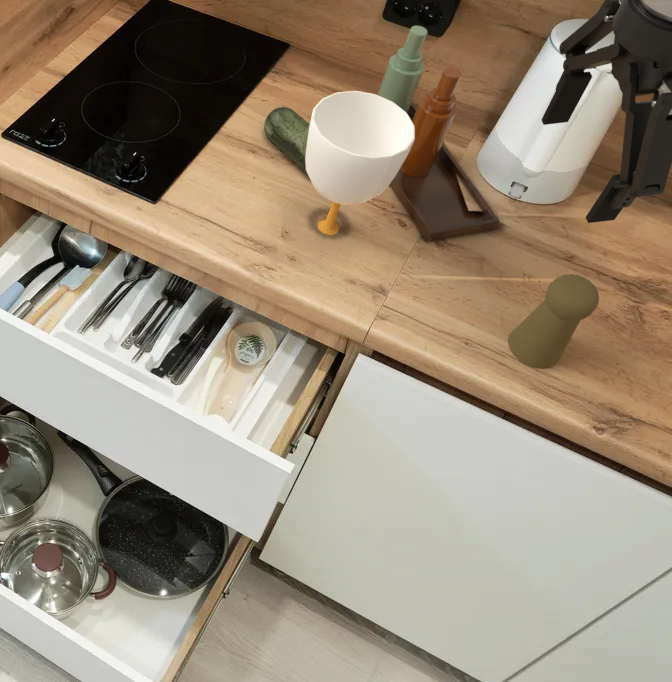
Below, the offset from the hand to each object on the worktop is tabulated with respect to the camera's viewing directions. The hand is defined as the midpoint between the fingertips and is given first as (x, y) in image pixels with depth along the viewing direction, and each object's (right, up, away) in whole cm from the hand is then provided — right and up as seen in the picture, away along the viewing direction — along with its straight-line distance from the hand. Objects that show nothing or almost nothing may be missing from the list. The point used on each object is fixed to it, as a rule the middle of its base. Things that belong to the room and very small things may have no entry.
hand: (576, 168), depth 85 cm
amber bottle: (-9, +6, +26) cm, 28 cm away
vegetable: (-25, +7, +26) cm, 37 cm away
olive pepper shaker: (0, -19, +9) cm, 21 cm away
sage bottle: (-12, +13, +31) cm, 35 cm away
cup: (-23, -4, +18) cm, 29 cm away
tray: (-9, +6, +26) cm, 28 cm away
